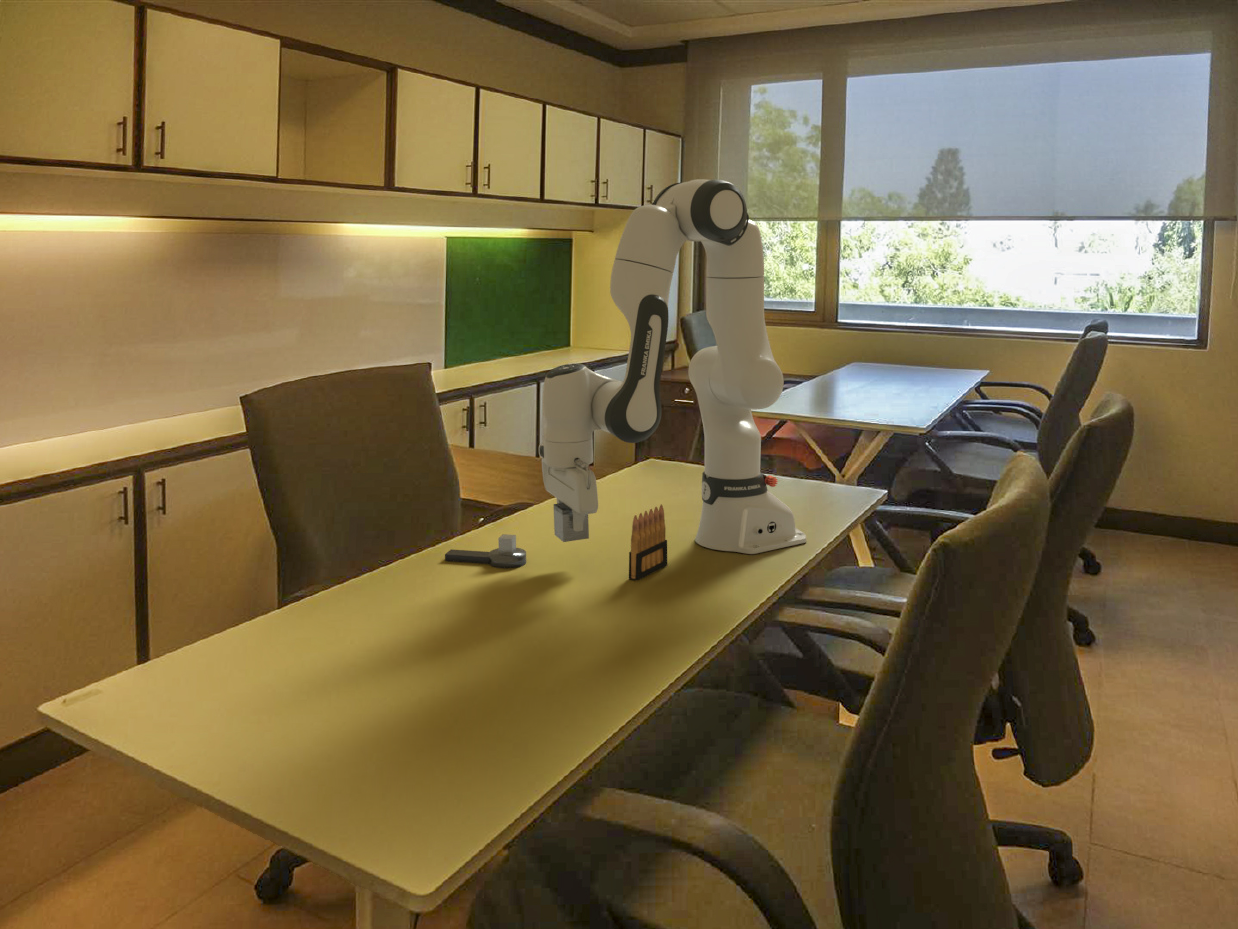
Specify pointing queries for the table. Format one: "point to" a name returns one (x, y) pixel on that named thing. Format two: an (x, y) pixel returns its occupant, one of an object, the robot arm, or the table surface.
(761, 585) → the table surface
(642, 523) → the ammunition clip
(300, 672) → the table surface
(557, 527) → the socket
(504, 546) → the ratchet
